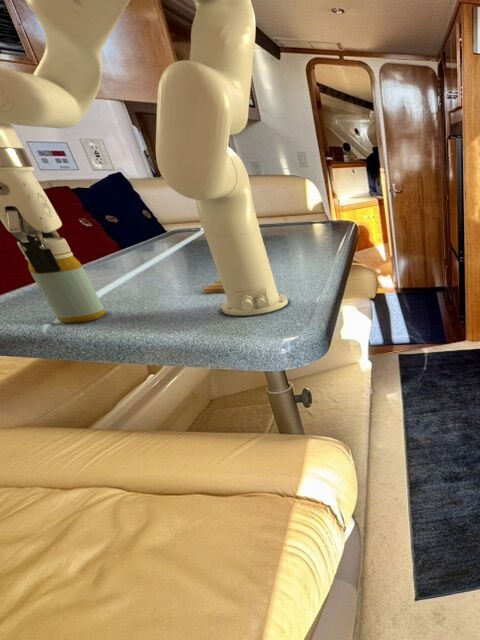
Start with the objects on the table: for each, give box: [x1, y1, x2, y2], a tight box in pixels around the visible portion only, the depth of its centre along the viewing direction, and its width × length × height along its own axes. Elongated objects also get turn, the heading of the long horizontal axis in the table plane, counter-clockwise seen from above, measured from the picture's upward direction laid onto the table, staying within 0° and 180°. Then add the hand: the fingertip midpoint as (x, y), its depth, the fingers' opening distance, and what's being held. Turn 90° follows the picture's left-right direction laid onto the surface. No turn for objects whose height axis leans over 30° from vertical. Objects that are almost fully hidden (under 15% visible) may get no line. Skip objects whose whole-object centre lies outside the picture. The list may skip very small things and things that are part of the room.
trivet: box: [203, 280, 225, 294], centre depth 99 cm, size 8×8×1 cm
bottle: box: [16, 237, 106, 324], centre depth 77 cm, size 7×7×15 cm
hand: (55, 267), depth 75 cm, fingers closed on bottle, 7 cm apart
